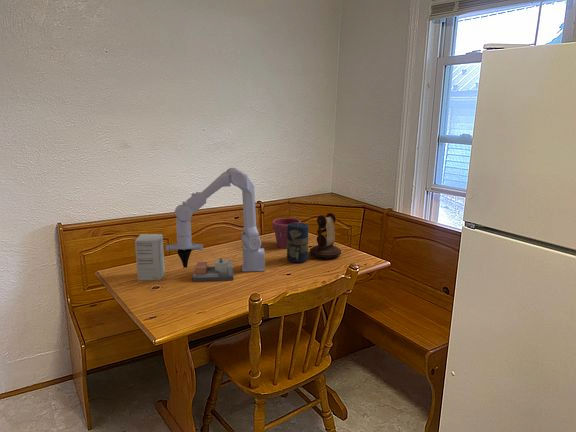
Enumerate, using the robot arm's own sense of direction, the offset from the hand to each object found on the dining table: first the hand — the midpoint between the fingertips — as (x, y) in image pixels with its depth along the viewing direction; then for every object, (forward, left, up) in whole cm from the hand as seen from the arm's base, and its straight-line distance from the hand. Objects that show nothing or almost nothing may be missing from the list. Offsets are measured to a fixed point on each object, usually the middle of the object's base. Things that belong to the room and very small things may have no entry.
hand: (185, 266), depth 182 cm
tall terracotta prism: (-6, 0, -3) cm, 7 cm away
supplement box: (+14, -2, -5) cm, 15 cm away
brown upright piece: (-62, -23, -5) cm, 66 cm away
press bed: (-11, 0, -4) cm, 12 cm away
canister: (-48, -17, -5) cm, 51 cm away
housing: (-15, 0, -3) cm, 15 cm away
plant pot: (-45, -39, -5) cm, 60 cm away
